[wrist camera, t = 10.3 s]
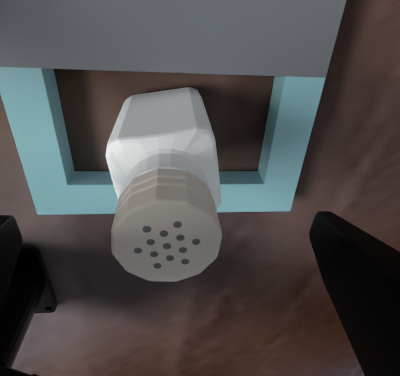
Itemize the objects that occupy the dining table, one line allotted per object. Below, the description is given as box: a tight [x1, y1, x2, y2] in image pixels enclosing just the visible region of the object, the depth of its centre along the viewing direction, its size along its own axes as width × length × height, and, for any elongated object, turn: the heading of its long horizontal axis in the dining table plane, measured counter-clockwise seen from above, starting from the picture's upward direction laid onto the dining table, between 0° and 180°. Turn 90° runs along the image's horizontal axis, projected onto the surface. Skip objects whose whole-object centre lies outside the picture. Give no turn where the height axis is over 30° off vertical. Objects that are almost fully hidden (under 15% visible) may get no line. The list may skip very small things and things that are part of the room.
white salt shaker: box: [106, 87, 222, 282], centre depth 12 cm, size 4×4×10 cm
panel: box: [0, 0, 346, 215], centre depth 13 cm, size 20×15×2 cm
